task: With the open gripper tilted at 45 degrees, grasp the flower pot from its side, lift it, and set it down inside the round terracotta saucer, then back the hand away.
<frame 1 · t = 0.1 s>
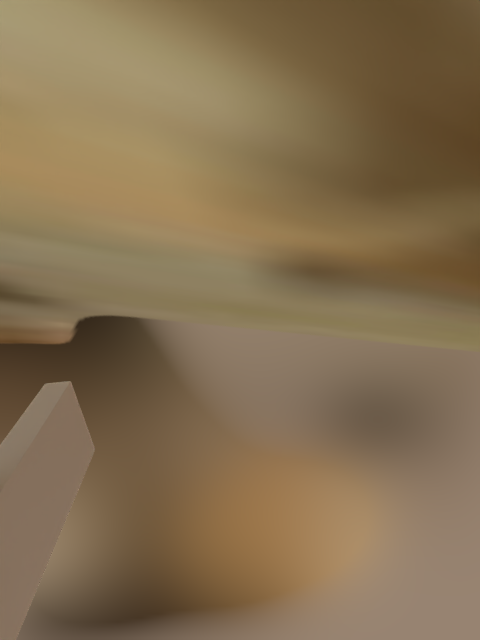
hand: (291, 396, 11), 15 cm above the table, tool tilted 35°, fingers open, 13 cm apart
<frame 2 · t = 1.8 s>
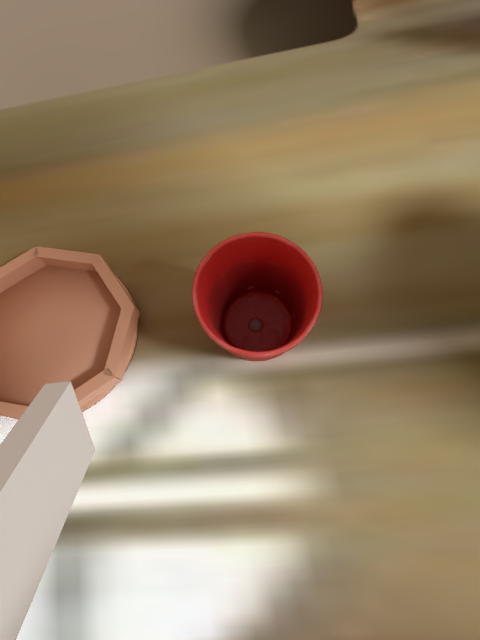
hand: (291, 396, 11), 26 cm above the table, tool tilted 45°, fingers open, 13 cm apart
flower pot: (256, 326, 39), on the table
terracotta saucer: (55, 335, 40), on the table
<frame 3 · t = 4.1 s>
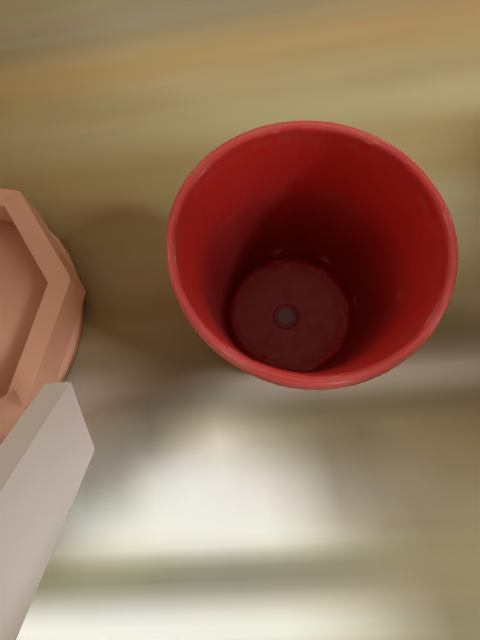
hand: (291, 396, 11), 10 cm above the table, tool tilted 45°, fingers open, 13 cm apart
flower pot: (286, 319, 23), on the table
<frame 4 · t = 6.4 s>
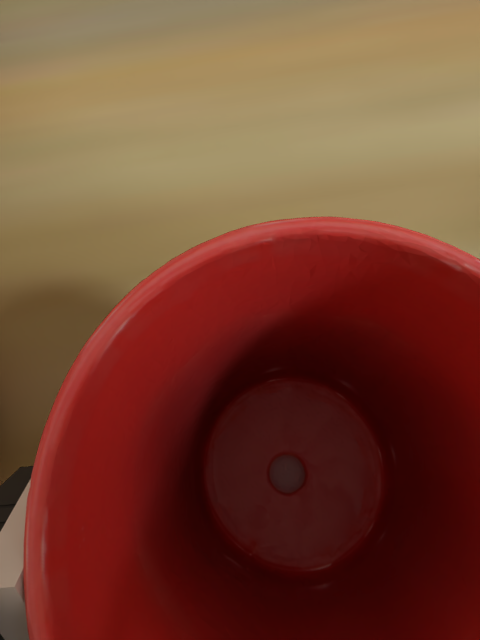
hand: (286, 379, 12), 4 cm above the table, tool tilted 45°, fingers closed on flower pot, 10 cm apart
flower pot: (287, 467, 15), on the table, touching gripper
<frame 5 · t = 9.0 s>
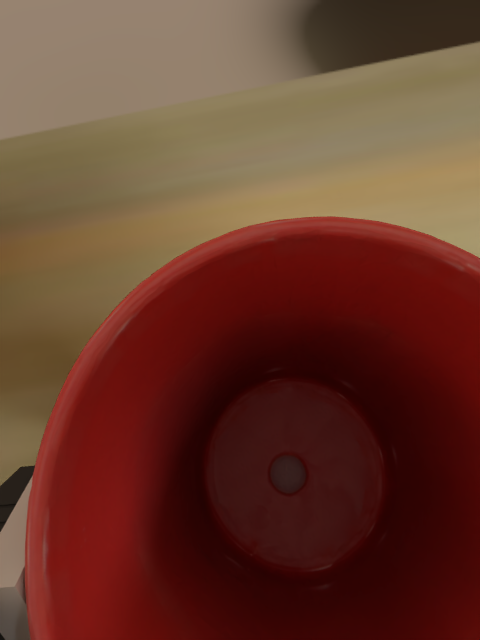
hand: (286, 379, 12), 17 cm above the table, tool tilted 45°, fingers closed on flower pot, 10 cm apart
flower pot: (288, 467, 15), point 12 cm above the table, touching gripper
when the fingers open (6 cm above the table, at t = 11.7 s): flower pot drops 1 cm, resting on terracotta saucer.
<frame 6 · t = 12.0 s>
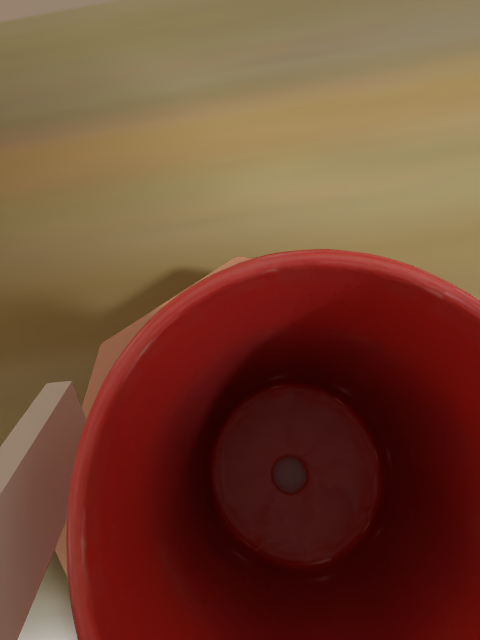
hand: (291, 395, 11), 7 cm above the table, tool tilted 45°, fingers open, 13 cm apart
flower pot: (290, 468, 16), point 1 cm above the table, touching terracotta saucer
terracotta saucer: (284, 465, 17), on the table
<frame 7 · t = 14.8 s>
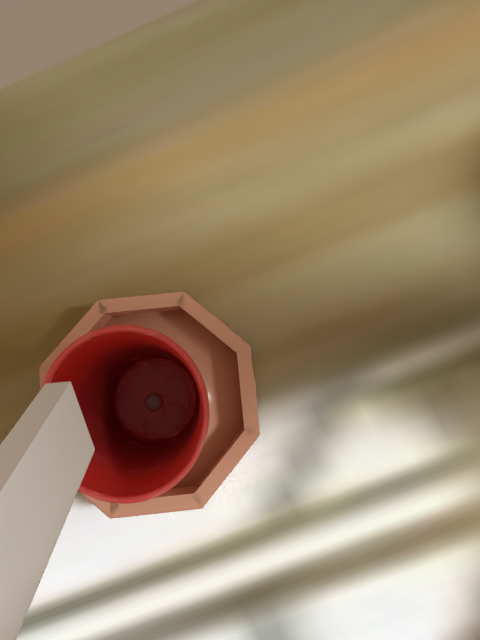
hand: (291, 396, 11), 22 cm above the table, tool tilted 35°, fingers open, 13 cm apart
flower pot: (157, 398, 32), point 1 cm above the table, touching terracotta saucer
terracotta saucer: (155, 397, 33), on the table
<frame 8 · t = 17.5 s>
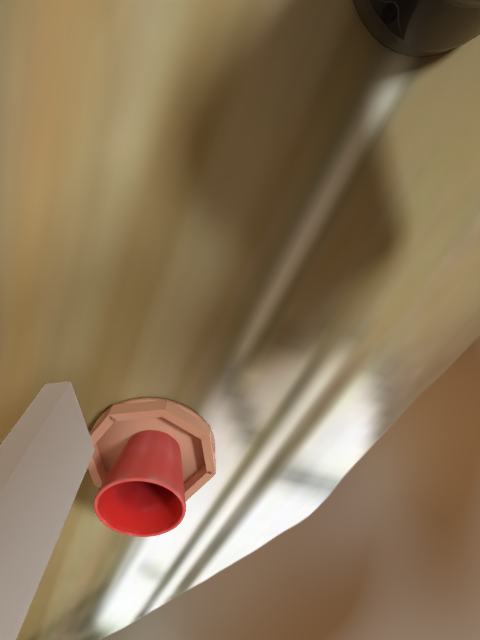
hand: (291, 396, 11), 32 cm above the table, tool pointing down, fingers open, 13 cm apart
flower pot: (153, 448, 53), point 1 cm above the table, touching terracotta saucer
terracotta saucer: (153, 446, 54), on the table
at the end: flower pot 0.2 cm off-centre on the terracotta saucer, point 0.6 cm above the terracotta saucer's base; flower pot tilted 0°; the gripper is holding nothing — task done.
